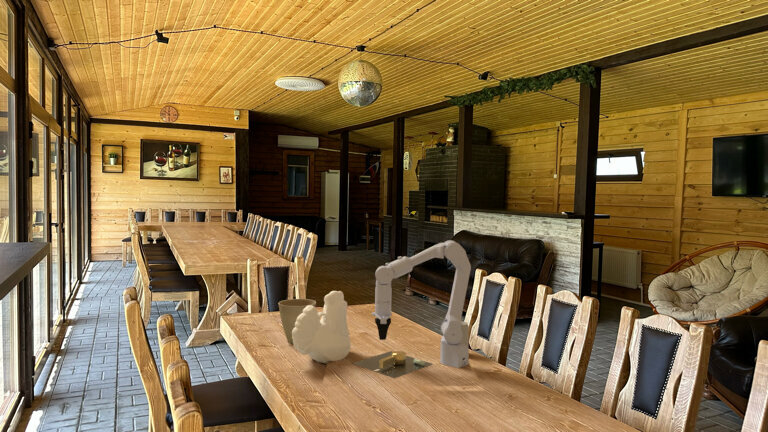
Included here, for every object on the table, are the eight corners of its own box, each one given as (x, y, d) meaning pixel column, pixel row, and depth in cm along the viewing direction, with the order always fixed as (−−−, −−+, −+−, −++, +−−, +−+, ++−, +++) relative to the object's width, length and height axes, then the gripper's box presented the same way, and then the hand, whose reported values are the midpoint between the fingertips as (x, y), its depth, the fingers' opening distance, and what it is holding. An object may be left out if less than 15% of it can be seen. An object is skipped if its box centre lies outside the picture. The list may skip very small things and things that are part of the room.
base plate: (433, 368, 179) (433, 359, 179) (394, 382, 164) (394, 373, 164) (391, 355, 193) (391, 346, 192) (351, 367, 178) (351, 358, 178)
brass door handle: (397, 359, 183) (397, 350, 183) (408, 362, 180) (408, 353, 179) (375, 367, 173) (375, 358, 173) (387, 371, 170) (387, 361, 170)
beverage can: (448, 354, 194) (449, 323, 193) (454, 350, 200) (455, 319, 199) (465, 357, 191) (465, 325, 190) (470, 353, 197) (471, 322, 196)
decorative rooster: (335, 349, 198) (336, 285, 197) (359, 360, 186) (361, 292, 185) (276, 362, 183) (277, 292, 181) (298, 374, 170) (299, 300, 169)
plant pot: (319, 337, 215) (319, 299, 214) (310, 347, 200) (311, 307, 199) (284, 335, 216) (284, 297, 215) (273, 345, 201) (273, 305, 201)
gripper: (371, 296, 187) (371, 333, 187) (371, 305, 172) (371, 345, 173) (391, 296, 187) (390, 333, 187) (392, 305, 172) (392, 345, 173)
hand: (382, 339), depth 180 cm, fingers closed
